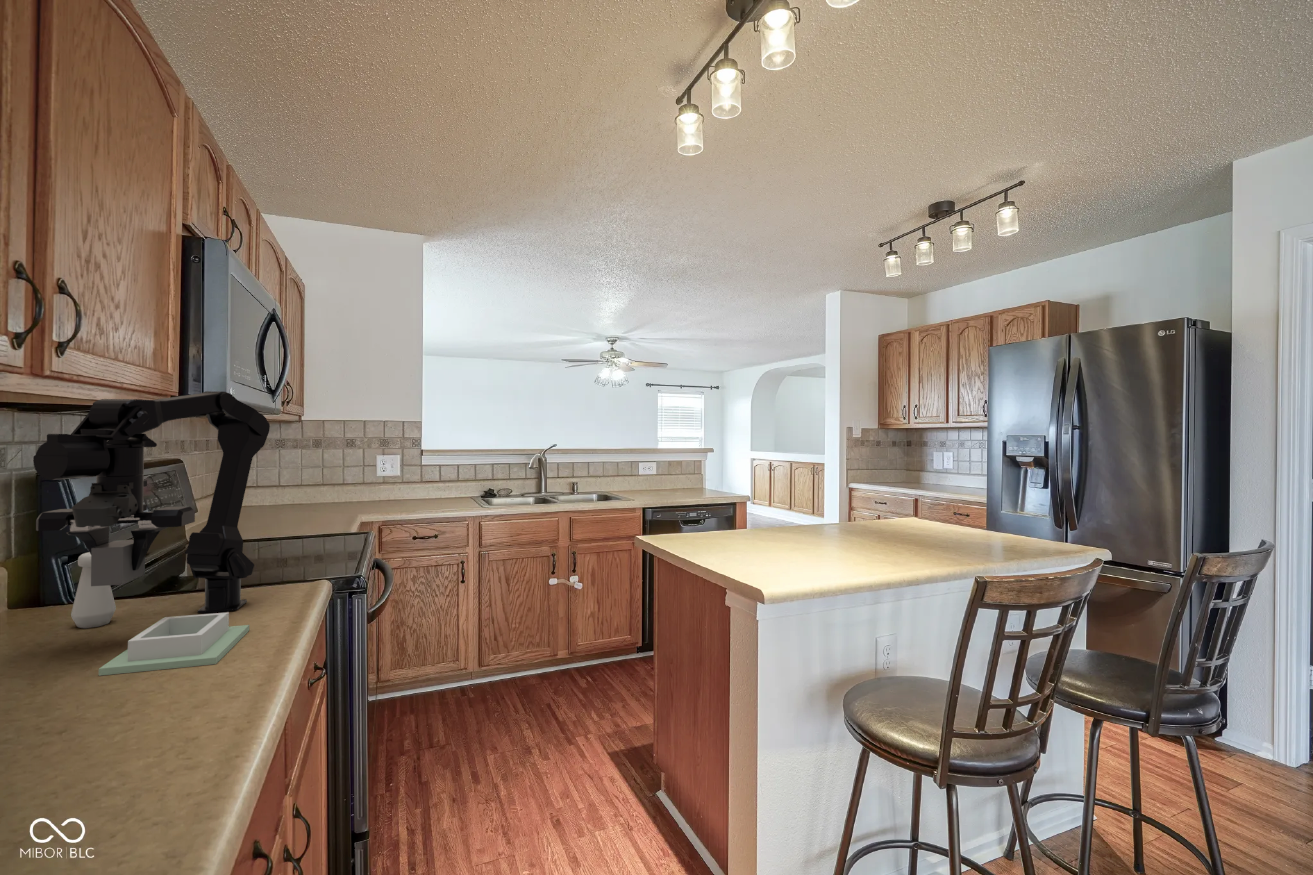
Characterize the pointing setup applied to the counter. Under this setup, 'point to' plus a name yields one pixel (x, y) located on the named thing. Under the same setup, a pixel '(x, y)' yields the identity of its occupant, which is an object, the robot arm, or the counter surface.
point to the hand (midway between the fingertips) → (119, 570)
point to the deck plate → (178, 644)
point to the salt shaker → (91, 599)
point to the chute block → (114, 564)
